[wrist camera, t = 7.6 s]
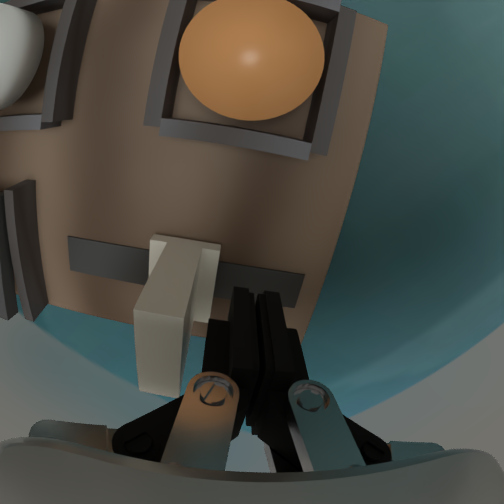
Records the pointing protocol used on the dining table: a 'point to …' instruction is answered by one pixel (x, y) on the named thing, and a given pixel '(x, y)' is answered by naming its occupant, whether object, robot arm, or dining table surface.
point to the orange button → (251, 58)
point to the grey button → (18, 51)
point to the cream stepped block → (172, 309)
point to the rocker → (6, 269)
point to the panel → (175, 161)
